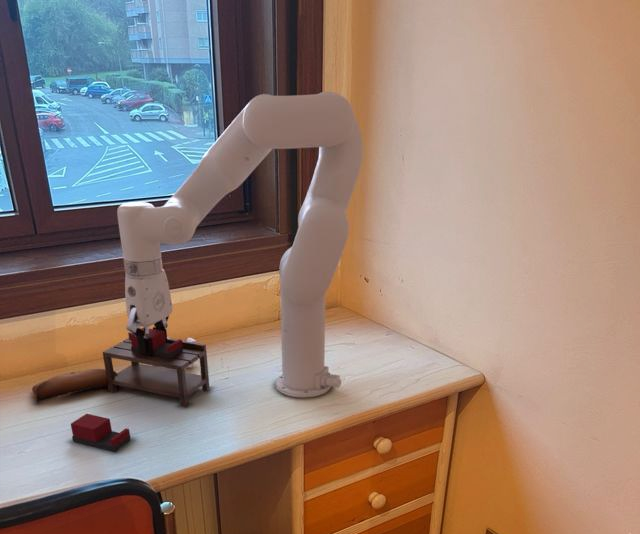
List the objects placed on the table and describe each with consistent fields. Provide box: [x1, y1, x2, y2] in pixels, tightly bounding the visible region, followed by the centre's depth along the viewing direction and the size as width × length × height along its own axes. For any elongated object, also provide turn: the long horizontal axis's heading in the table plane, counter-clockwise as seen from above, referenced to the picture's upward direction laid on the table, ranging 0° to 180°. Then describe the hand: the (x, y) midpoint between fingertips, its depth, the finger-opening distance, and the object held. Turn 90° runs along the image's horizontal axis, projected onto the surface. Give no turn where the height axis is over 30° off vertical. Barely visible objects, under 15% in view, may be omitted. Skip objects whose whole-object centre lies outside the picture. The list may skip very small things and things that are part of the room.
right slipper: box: [130, 327, 183, 359], centre depth 138 cm, size 10×5×4 cm, turn 68°
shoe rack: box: [102, 331, 211, 408], centre depth 141 cm, size 20×10×11 cm, turn 68°
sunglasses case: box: [31, 368, 118, 404], centre depth 143 cm, size 18×7×7 cm
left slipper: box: [70, 413, 132, 453], centre depth 123 cm, size 10×5×4 cm, turn 68°
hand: (153, 349), depth 139 cm, fingers closed on right slipper, 4 cm apart
